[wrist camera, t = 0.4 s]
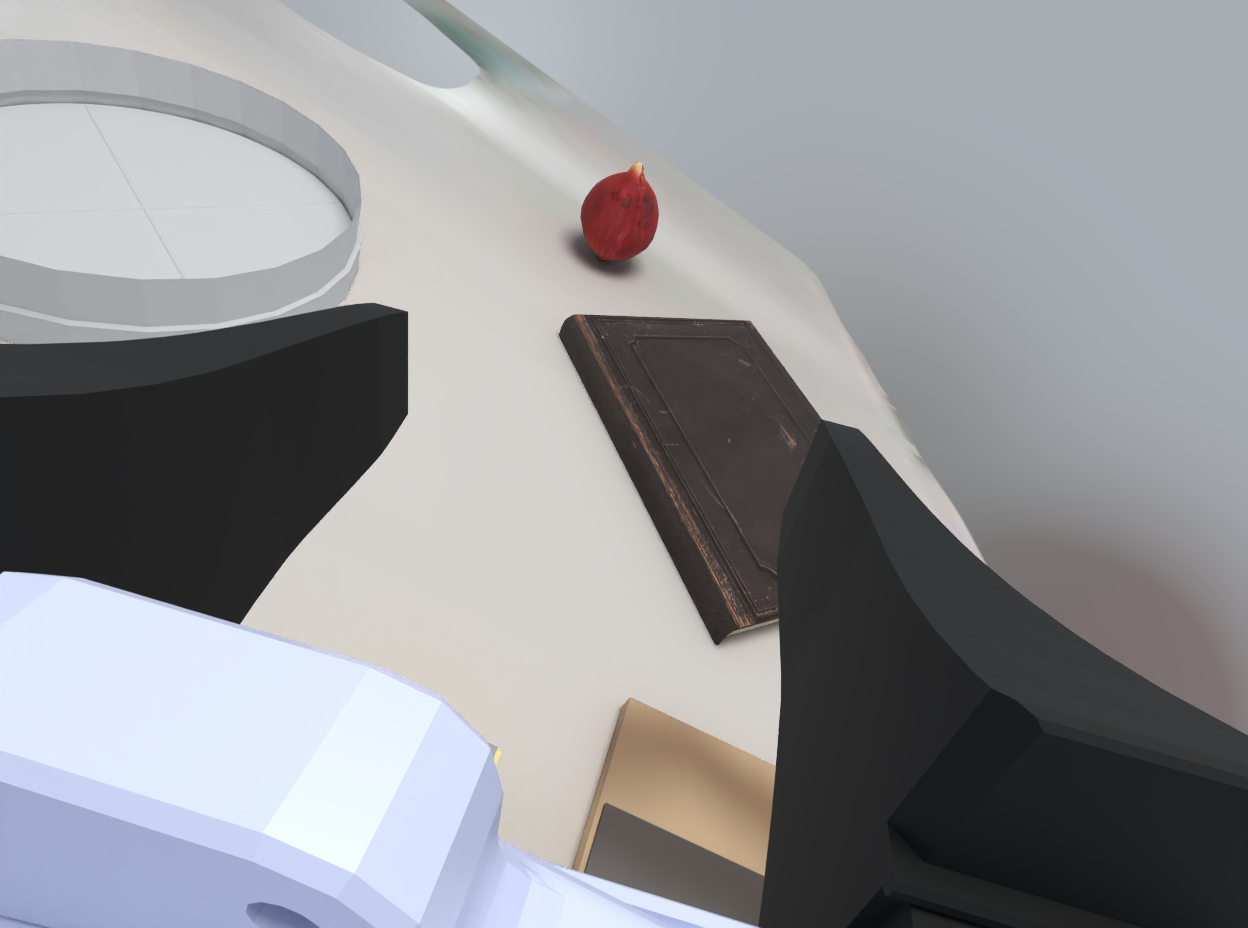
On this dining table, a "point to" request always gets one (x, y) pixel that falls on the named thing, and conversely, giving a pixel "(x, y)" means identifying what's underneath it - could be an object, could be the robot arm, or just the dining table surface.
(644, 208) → the onion
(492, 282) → the dining table surface
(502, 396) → the dining table surface
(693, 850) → the board
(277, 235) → the dish
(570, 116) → the dining table surface
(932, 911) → the robot arm
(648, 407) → the hardcover book
